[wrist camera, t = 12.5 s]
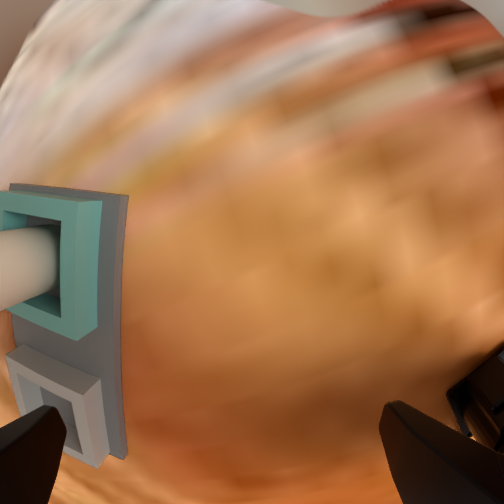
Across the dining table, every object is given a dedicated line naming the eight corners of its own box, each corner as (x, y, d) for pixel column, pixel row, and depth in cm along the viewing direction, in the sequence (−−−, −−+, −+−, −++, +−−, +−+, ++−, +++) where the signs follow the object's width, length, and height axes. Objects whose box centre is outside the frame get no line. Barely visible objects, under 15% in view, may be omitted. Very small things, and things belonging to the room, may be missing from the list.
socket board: (127, 453, 23) (111, 477, 19) (36, 409, 24) (17, 426, 20) (128, 195, 19) (97, 195, 15) (18, 183, 20) (-14, 183, 16)
